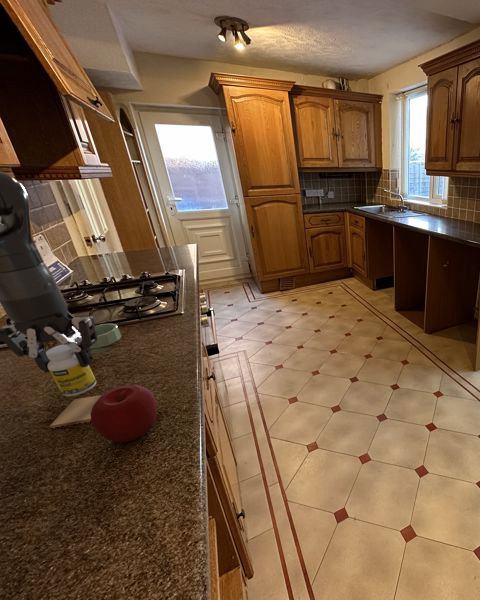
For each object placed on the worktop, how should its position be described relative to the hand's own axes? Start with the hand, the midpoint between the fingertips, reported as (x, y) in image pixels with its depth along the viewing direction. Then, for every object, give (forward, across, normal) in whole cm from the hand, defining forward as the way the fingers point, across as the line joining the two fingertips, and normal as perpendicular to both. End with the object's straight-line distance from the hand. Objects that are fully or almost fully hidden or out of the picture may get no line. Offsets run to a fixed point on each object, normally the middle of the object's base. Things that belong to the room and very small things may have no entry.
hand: (69, 367), depth 65 cm
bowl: (+11, +11, -30) cm, 34 cm away
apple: (+11, -12, +10) cm, 19 cm away
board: (+11, 0, 0) cm, 11 cm away
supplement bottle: (+6, 0, 0) cm, 6 cm away
